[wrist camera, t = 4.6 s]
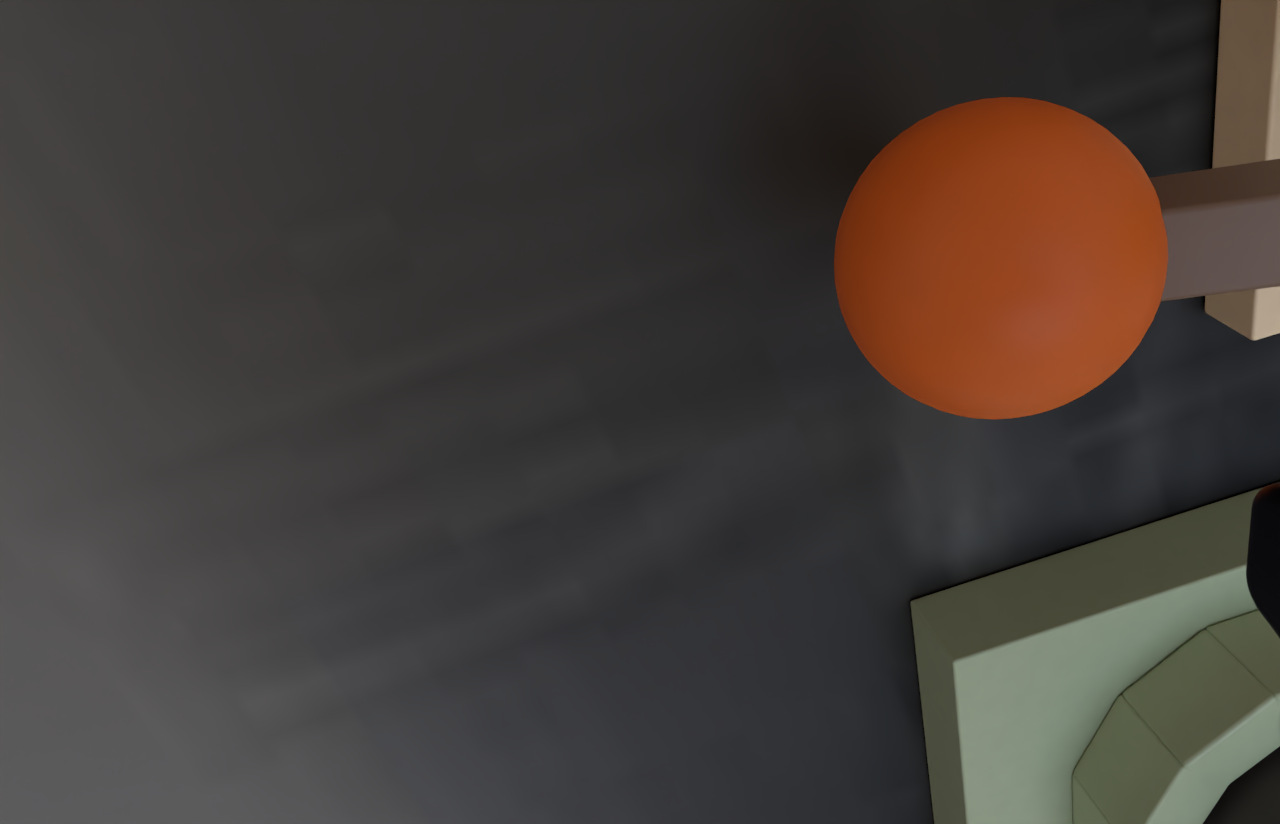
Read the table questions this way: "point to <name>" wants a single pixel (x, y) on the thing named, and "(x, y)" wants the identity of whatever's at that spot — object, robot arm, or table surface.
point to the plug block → (1101, 679)
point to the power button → (1251, 796)
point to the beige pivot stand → (1247, 134)
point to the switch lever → (1033, 253)
